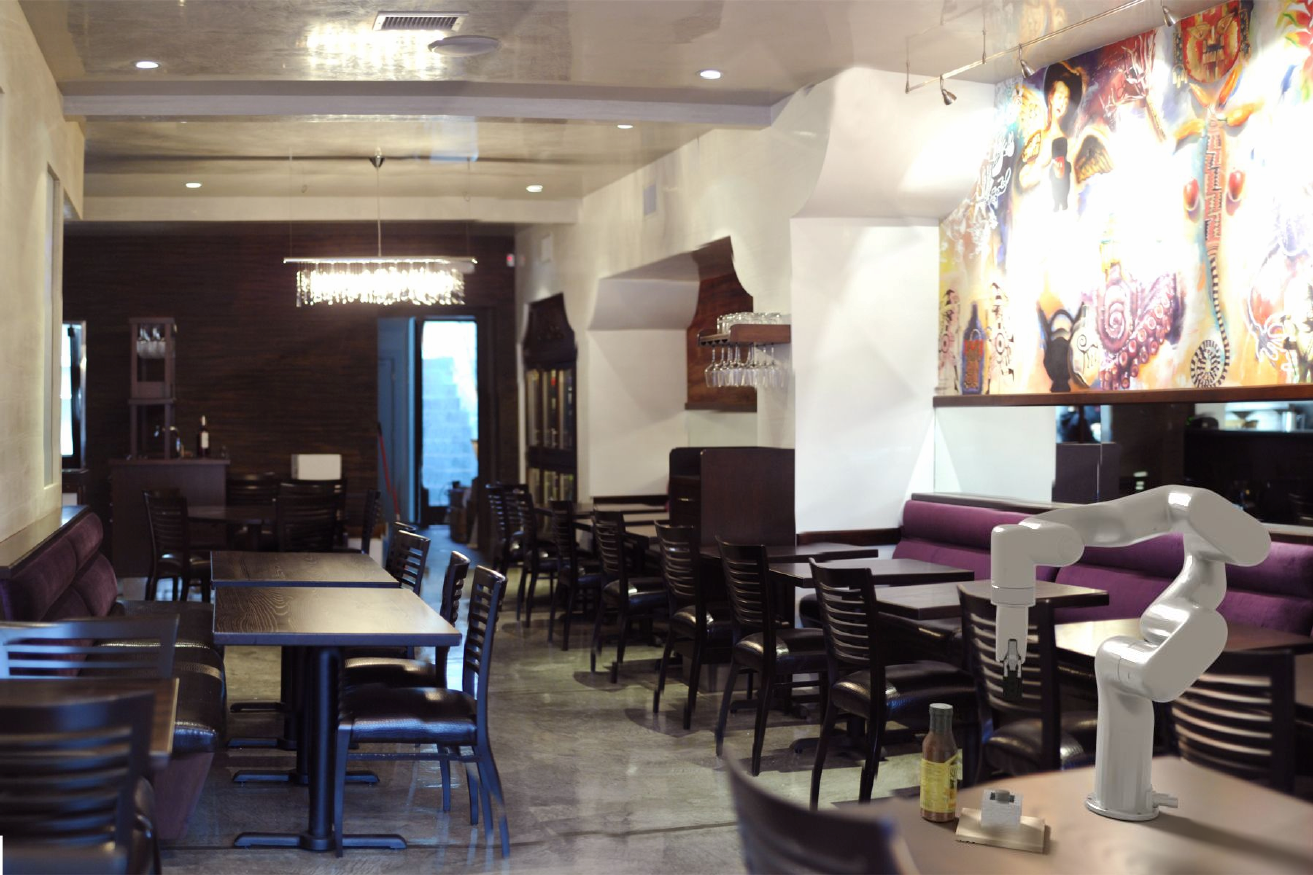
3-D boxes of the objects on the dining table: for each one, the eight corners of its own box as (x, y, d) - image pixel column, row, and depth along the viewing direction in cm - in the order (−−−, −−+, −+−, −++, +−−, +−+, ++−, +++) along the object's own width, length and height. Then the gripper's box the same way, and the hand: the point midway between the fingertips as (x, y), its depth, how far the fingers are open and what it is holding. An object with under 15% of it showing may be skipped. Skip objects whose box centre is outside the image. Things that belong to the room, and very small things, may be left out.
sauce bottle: (956, 825, 209) (961, 712, 208) (919, 821, 210) (924, 709, 210) (954, 812, 216) (959, 702, 215) (919, 809, 217) (923, 699, 216)
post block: (1044, 824, 211) (1046, 784, 211) (1042, 852, 198) (1044, 810, 197) (962, 812, 215) (964, 774, 215) (955, 839, 202) (956, 798, 202)
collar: (1021, 822, 209) (1022, 794, 208) (1019, 835, 203) (1021, 805, 202) (983, 817, 211) (984, 789, 210) (980, 829, 205) (981, 800, 204)
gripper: (991, 585, 220) (991, 678, 221) (989, 603, 204) (989, 703, 205) (1034, 587, 218) (1034, 680, 219) (1036, 605, 202) (1035, 706, 203)
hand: (1012, 691), depth 212 cm, fingers open, 9 cm apart
